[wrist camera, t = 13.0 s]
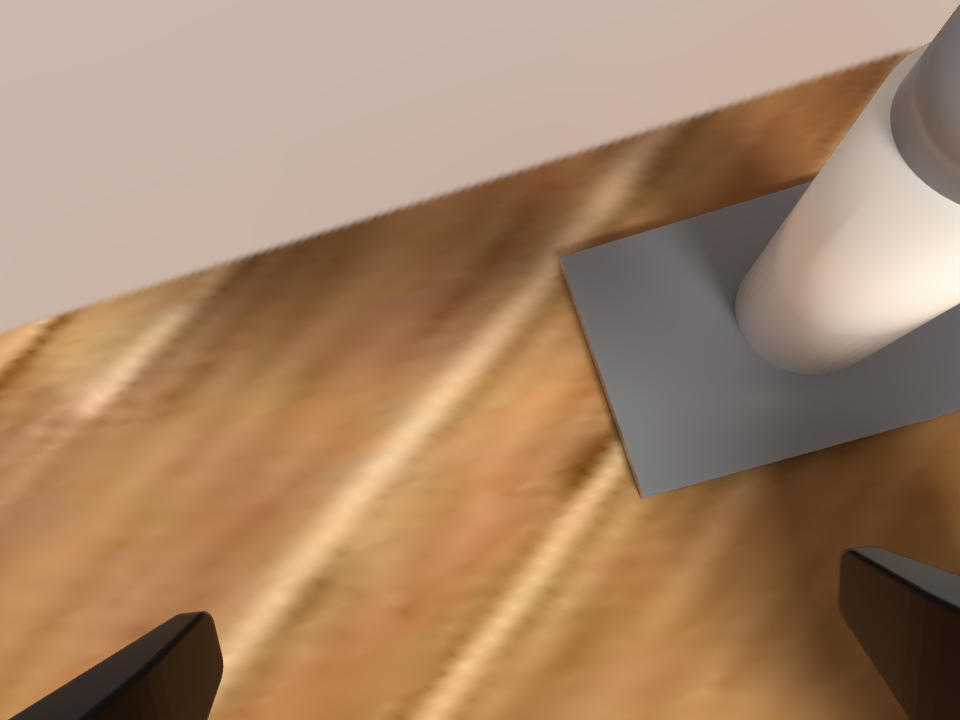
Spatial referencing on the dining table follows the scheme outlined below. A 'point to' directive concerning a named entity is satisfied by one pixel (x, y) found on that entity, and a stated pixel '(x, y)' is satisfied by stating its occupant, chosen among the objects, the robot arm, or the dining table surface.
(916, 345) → the slate board
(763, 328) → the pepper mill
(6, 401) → the dining table surface
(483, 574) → the dining table surface
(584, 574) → the dining table surface
